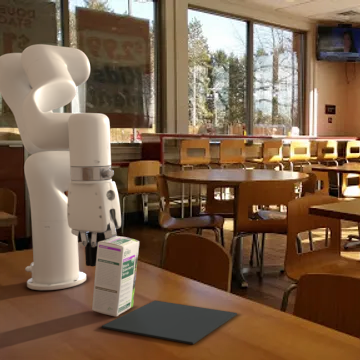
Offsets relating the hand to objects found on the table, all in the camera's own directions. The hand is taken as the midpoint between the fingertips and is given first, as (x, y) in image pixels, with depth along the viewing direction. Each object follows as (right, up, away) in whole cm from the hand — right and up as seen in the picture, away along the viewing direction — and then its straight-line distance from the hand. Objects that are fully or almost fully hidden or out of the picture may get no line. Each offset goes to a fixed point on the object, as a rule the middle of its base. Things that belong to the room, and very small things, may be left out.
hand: (94, 264), depth 101 cm
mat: (+17, -10, -5) cm, 21 cm away
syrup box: (+4, -9, 0) cm, 10 cm away
